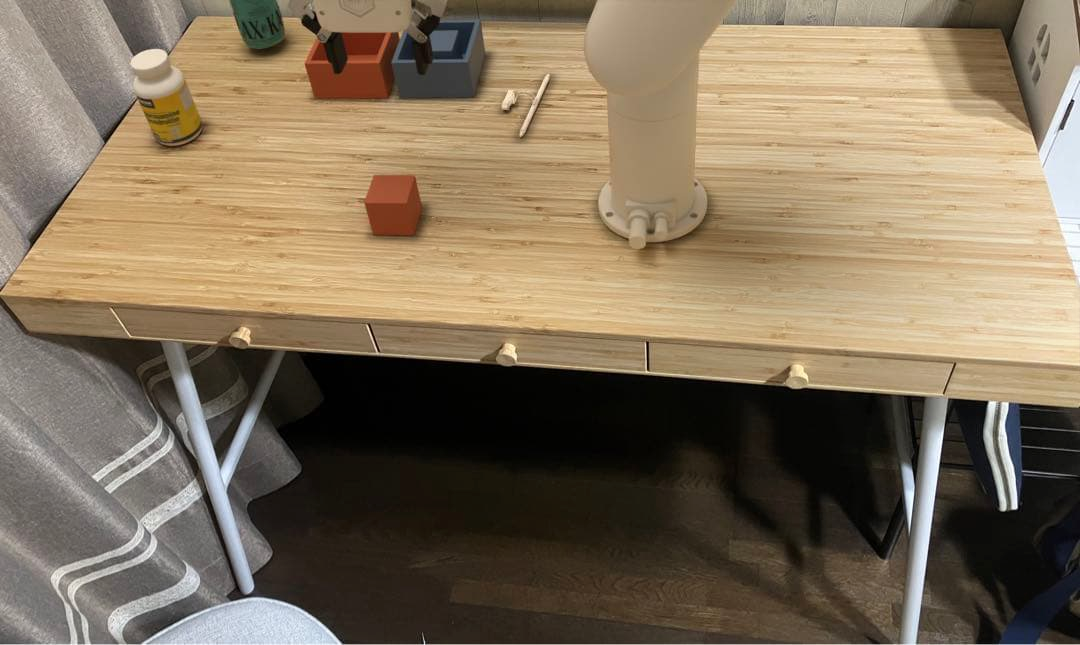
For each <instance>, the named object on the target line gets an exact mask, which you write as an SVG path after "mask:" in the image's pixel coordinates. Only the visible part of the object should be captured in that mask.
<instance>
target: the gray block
mask: <svg viewBox="0 0 1080 645" xmlns="http://www.w3.org/2000/svg"><path fill="white" fill-rule="evenodd" d="M430 40H431V45H432V50H433V60H438V59H463V56H462V50H461V44H460V38H459V32H458V30H448V31H433V32H432V33H431V34H430Z"/></svg>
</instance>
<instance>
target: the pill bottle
mask: <svg viewBox="0 0 1080 645" xmlns="http://www.w3.org/2000/svg"><path fill="white" fill-rule="evenodd" d="M130 67H131V69H132V72H133V74H134V75H135V77H134V79H133V82H132V89H133V93H134V94H135V96H136V99H137V101H138V103H139V106H140V107H141V111H142V113H143V114H144V117H145V119H146V121H147V123H148V126H149V128H150V130H151V132H152V134H153V137H154V138H155V140H156V141H157V142H158V143H159V144H161V145H165V146H169V147H170V146H171V147H174V146H181V145H186V144H187V143H189V142H191V141H194V140H195V139H196V138H197V137H198V136H199V135H200V133H201V132H202V129H203V121H202V119H201V116H200V114H199V111H198V109H197V105H196V104H195V100H194V99H193V96H192V93H191V90H190V88H189V86H188V83H187V81H186V78H185V76H184V73H183V72H182V70H180V69H179V68H178V67H176V66H173V65H172V63H171V59H170V57H169V55H168V53H167V51H166V50H164V49H160V48H151V49H146V50H143V51H141V52H139V53H137V54H136V55H134V56H133V57H132V58H131V60H130Z"/></svg>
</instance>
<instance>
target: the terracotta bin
mask: <svg viewBox="0 0 1080 645" xmlns="http://www.w3.org/2000/svg"><path fill="white" fill-rule="evenodd" d="M399 33H400V32H394V33H341V34H342V38H343V41H344V45H345V49H346V53H347V56H348V61H347V63H346V65H345V67H344V69H343V71H342V73H340V74H334V71H333V67H332V64H331V63H329V62H328V59H327V56H326V52H325V49H324V45H323V43H321V42H319V41H318V40H317V37H316V38H315V40H314V42H313V45H312V47H311V49H310V51H309V52H308V54H307V57H306V59H305V60H304V67H305V71H306V74H307V77H308V80H309V83H310V87H311V91H312V93H313V97H314V99H389V95H390V93H391V90H392V87H393V85H394V82H395V77H394V72H393V68H392V64H391V62H392V59H393V57H394V54H395V52H396V49H397V46H398V44H399V41H400V38H401V37H400V34H399Z"/></svg>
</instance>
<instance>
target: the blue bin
mask: <svg viewBox="0 0 1080 645" xmlns="http://www.w3.org/2000/svg"><path fill="white" fill-rule="evenodd" d="M448 30H458V32H459V38H460V44H461V50H462V56H463V59H438V60H433V62H432V64H429V65H428V68H427V71H426V73H425V75H420V74H418V72H417V67H416V62H415V58H414V53H413V48H412V43H413V41H414V38H413V37H412V36H411V35H410V34H408V33H407V32H406V31H405V30H404V31H402V33H401V36H400V37H399V38H400V41H399V44H398V46H397V49H396V52H395V54H394V57H393V59H392V62H391V64H392V68H393V72H394V77H395V79H394V82H395V85H396V89H397V94H398V98H399V99H457V98H458V99H461V98H463V99H464V98H465V99H467V98H469V99H470V98H475V95H476V92H477V87H478V85H479V80H480V78H481V77H480V76H481V72H482V70H483V66H484V62H485V58H486V46H485V42H484V41H485V40H484V33H483V27H482V21H481V19H480V18H476V19H475V18H474V19H473V18H472V19H441V20H440V23H439V25H438V27H437V28H436V29H435V30H434V31H448Z"/></svg>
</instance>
